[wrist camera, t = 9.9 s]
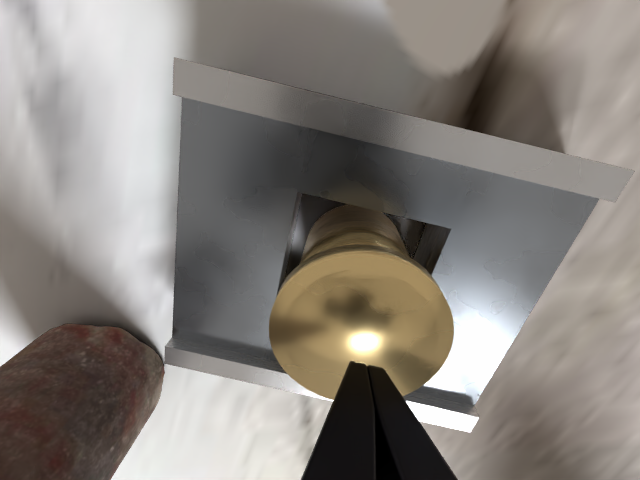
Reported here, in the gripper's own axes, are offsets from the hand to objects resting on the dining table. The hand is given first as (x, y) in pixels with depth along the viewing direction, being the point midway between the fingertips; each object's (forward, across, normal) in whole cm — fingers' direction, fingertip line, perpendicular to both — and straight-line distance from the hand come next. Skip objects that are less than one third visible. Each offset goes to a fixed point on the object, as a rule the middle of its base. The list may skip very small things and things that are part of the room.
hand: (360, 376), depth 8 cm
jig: (+7, 0, 0) cm, 7 cm away
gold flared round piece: (+7, 0, 0) cm, 7 cm away
